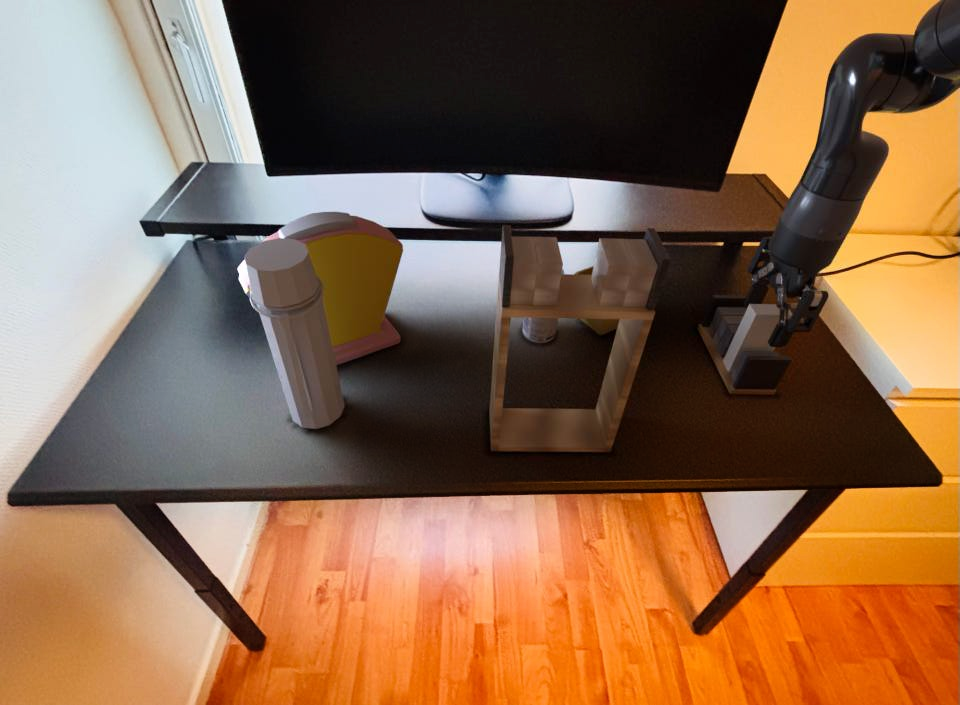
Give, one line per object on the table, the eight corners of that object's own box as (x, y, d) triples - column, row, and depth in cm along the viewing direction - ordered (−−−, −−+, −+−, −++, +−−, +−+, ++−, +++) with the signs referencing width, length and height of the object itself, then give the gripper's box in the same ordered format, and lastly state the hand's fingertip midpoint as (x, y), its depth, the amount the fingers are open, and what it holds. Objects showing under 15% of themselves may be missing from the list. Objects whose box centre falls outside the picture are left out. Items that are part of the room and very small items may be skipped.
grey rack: (774, 394, 78) (794, 359, 73) (729, 394, 78) (747, 359, 73) (736, 329, 89) (751, 295, 85) (697, 328, 89) (710, 294, 84)
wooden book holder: (637, 283, 59) (653, 226, 55) (653, 320, 55) (672, 261, 50) (498, 280, 59) (502, 223, 54) (501, 317, 54) (505, 258, 49)
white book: (762, 372, 80) (793, 315, 73) (728, 372, 80) (756, 314, 73) (755, 361, 82) (785, 304, 74) (722, 361, 82) (749, 303, 74)
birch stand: (601, 413, 74) (637, 283, 59) (610, 452, 69) (653, 320, 55) (489, 412, 74) (498, 280, 59) (490, 451, 69) (501, 317, 54)
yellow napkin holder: (392, 307, 90) (380, 187, 76) (417, 338, 85) (409, 214, 70) (260, 350, 81) (218, 223, 67) (277, 388, 76) (236, 258, 61)
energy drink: (555, 324, 88) (565, 263, 80) (554, 345, 85) (565, 283, 76) (523, 321, 89) (530, 259, 81) (521, 342, 85) (528, 279, 77)
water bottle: (291, 395, 75) (243, 237, 58) (348, 389, 76) (318, 233, 59) (284, 447, 68) (228, 286, 51) (347, 440, 69) (312, 281, 52)
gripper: (878, 254, 59) (812, 360, 70) (816, 196, 70) (767, 296, 81) (812, 253, 59) (756, 359, 70) (760, 194, 70) (719, 295, 81)
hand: (762, 325), depth 76 cm, fingers open, 8 cm apart
